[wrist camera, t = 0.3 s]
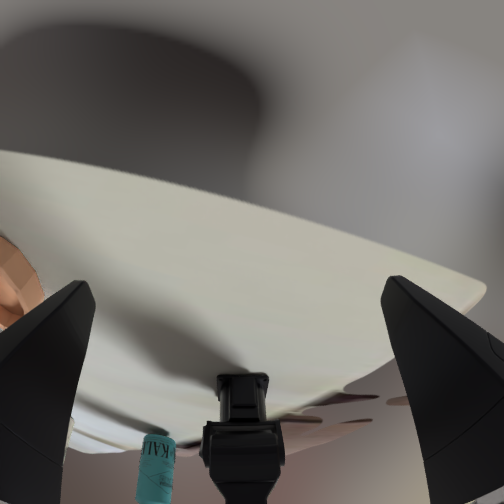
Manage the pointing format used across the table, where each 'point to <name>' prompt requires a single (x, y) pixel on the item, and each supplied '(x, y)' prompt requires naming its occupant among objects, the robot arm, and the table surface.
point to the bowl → (16, 285)
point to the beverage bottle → (156, 470)
